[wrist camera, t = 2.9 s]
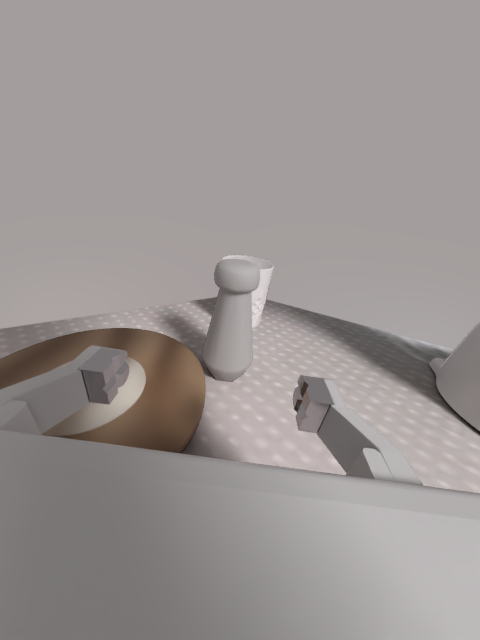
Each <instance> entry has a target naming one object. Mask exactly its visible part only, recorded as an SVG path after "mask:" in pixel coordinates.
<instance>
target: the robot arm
mask: <svg viewBox="0 0 480 640" xmlns="http://www.w3.org/2000/svg"><path fill="white" fill-rule="evenodd" d="M127 358H128V355H127V352H126V351H125V350H119V349H113V348H107V347H100V346H94V345H92V346H89V347H88V348H87V349H86V350H84V351H83V352H82V353H81V354H80V355H79V356H77V357H76V358H75V359H74V360H73V361H72V362H70V363H69V364H68V365H67V366H66V367H65V368H62V367H60V368H57V369H55V370H52V371H49V372H47V373H44V374H41V375H38V376H36V377H33V378H30V379H28V380H25V381H22V382H20V383H17V384H14V385H11V386H9V387H6V388H3V389H1V390H0V640H480V493H473V492H466V491H458V490H450V489H443V488H435V487H428V486H423V484H422V483H421V481H420V479H419V478H418V476H417V474H416V473H415V471H414V470H413V468H412V466H411V465H410V463H409V461H408V460H407V458H406V456H405V455H404V453H403V452H402V451H401V450H400V449H399V448H397V447H396V446H395V445H394V444H393V443H392V442H390V441H389V440H388V439H387V438H386V437H384V436H383V435H382V434H381V433H380V432H379V431H377V430H376V429H375V428H374V427H373V426H371V425H370V424H369V423H368V422H367V421H366V420H364V419H363V418H362V417H361V416H360V415H358V414H357V413H356V412H355V411H354V410H353V409H351V408H350V407H347V406H346V404H345V402H344V400H343V398H342V395H341V393H340V391H339V389H338V387H337V385H336V383H335V381H334V380H333V379H327V378H317V377H310V376H302V375H301V376H300V377H299V379H298V385H299V386H298V387H297V388H295V391H294V394H293V406H294V409H295V411H296V412H297V415H296V421H297V426H298V430H299V431H305V432H311V433H317V435H318V436H319V437H320V439H321V440H322V441H323V443H324V444H325V445H326V447H327V448H328V449H329V451H330V452H331V453H332V455H333V456H334V457H335V459H336V460H337V461H338V463H339V464H340V465H341V466H342V468H343V469H344V470H345V472H346V473H347V474H346V475H338V474H331V473H323V472H316V471H308V470H301V469H294V468H286V467H279V466H271V465H263V464H256V463H248V462H241V461H233V460H226V459H218V458H211V457H203V456H196V455H188V454H181V453H173V452H166V451H158V450H151V449H144V448H136V447H129V446H121V445H114V444H106V443H99V442H91V441H84V440H76V439H69V438H61V437H54V436H46V435H41V434H42V433H44V432H45V431H47V430H49V429H50V428H52V427H53V426H55V425H56V424H58V423H60V422H61V421H63V420H64V419H66V418H67V417H69V416H71V415H72V414H74V413H75V412H77V411H78V410H80V409H82V408H83V407H85V406H86V405H88V404H89V402H91V403H100V404H109V405H110V403H111V402H112V400H113V399H114V398H115V396H116V395H117V394H118V389H117V388H119V387H121V386H123V385H124V384H125V382H126V381H127V378H128V376H129V365H128V364H127V362H126V360H127ZM429 365H430V367H431V368H432V370H433V371H434V372H435V374H436V385H437V388H438V390H439V392H440V394H441V395H442V397H443V398H444V399H445V401H446V402H447V403H448V404H449V405H450V406H451V407H452V408H453V409H454V410H455V411H456V412H457V413H458V414H459V415H460V416H461V417H462V418H464V419H465V420H466V421H467V422H468V423H470V424H471V425H472V426H473V427H475V428H476V429H477V430H479V431H480V323H478V324H477V325H476V326H475V327H474V328H473V329H472V330H471V331H470V332H469V333H468V335H467V336H466V337H465V338H464V339H463V340H462V341H461V343H460V344H459V345H458V346H457V347H456V348H455V349H454V351H453V352H452V353H451V354H450V355H449V356H448V358H434V359H433V360H432V361H431V362H430V363H429Z"/></svg>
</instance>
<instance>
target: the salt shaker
mask: <svg viewBox="0 0 480 640" xmlns="http://www.w3.org/2000/svg"><path fill="white" fill-rule="evenodd" d="M214 280H215V283H216V284H217V286H218V287H220V289H219V293H218V296H217V300H216V304H215V307H214V311H213V315H212V318H211V322H210V326H209V329H208V333H207V337H206V340H205V344H204V348H203V351H202V357H203V359H204V362H205V364H206V366H207V368H208V370H209V371H210V372H211V374H212V375H213V376H214V378H215V379H216V380H222V381H229V382H233V381H234V380H236V379H237V378H238V377H240V376H241V375H243V374H244V372H245V371H246V370H247V368H248V367H249V366H250V365H251V363H252V360H253V351H252V294H251V292H252V291H254V290H256V289H257V288H258V286H259V281H260V269H259V268H258V266H257V265H256V264H254V263H252V262H249V261H246V260H241V259H225V260H222V261H220V262H219V263H218V264H217V266H216V268H215V272H214Z"/></svg>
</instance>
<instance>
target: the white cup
mask: <svg viewBox="0 0 480 640" xmlns="http://www.w3.org/2000/svg"><path fill="white" fill-rule="evenodd" d="M225 259H241V260H246V261H249V262H252V263H254V264H256V265H257V266H258V268H259V269H260V281H259V286H258V288H257V289H256V290H254V291H252V292H251V294H252V328H254V327H256V326H257V325H258V324H259V323H260V319H261V315H262V310H263V308H264V305H265V301H266V298H267V294H268V290H269V286H270V282H271V277H272V273H273V269H274V265H273V264H272V263H271V262H269V261H266V260H264V259H261V258H256V257H251V256H243V255H231V256H226V257H223V258H222V260H225Z"/></svg>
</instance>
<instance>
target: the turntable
mask: <svg viewBox="0 0 480 640" xmlns="http://www.w3.org/2000/svg"><path fill="white" fill-rule="evenodd" d="M92 345H94V346H100V347H107V348H113V349H119V350H125V351H126V352H127V355H128V358H127V360H126V362H127V364H128V365H129V376H128V378H127V381H126V382H125V384H124V385H123V386H121V387H119V388H117V389H118V394H117V395H116V396H115V398H114V399H113V400H112V402H111V403H110V405H109V404H100V403H91V402H89V404H88V405H86V406H85V407H83V408H82V409H80V410H78V411H77V412H75V413H74V414H72V415H71V416H69V417H67V418H66V419H64V420H63V421H61V422H60V423H58V424H56V425H55V426H53V427H52V428H50V429H49V430H47V431H45V432H44V433H42V434H41V435H46V436H54V437H61V438H69V439H76V440H84V441H91V442H99V443H106V444H114V445H121V446H129V447H136V448H144V449H151V450H158V451H166V452H173V453H182V452H183V450H184V449H185V448H186V446H187V445H188V443H189V441H190V439H191V438H192V436H193V434H194V433H195V431H196V428H197V426H198V424H199V421H200V419H201V415H202V412H203V408H204V401H205V388H206V386H205V376H204V372H203V368H202V366H201V364H200V362H199V360H198V359H197V357H196V356H195V355H194V353H193V352H192V351H191V350H190V349H189V348H187V347H186V346H185V345H183V344H182V343H181V342H179V341H177V340H175V339H173V338H171V337H169V336H166V335H163V334H160V333H157V332H153V331H148V330H141V329H131V328H109V329H98V330H90V331H84V332H78V333H73V334H69V335H64V336H61V337H57V338H54V339H50V340H47V341H44V342H41V343H38V344H35V345H32V346H30V347H27V348H25V349H22V350H20V351H17V352H15V353H13V354H11V355H9V356H7V357H4V358H2V359H0V390H1V389H3V388H6V387H9V386H11V385H14V384H17V383H20V382H22V381H25V380H28V379H30V378H33V377H36V376H38V375H41V374H44V373H47V372H49V371H52V370H55V369H57V368H60V367H62V368H65V367H66V366H67V365H68V364H69V363H70V362H72V361H73V360H74V359H75V358H76V357H77V356H79V355H80V354H81V353H82V352H83V351H84V350H86V349H87V348H88V347H89V346H92Z"/></svg>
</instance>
